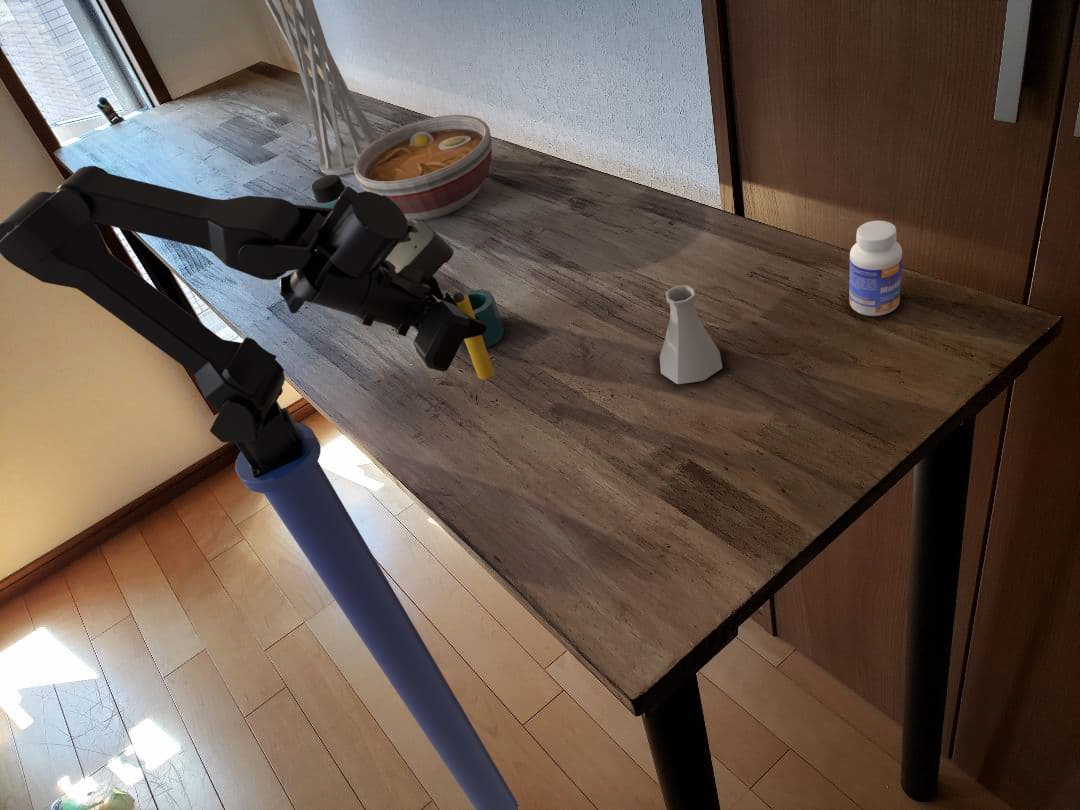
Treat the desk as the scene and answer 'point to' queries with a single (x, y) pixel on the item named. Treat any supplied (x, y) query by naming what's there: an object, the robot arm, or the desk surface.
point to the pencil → (475, 342)
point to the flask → (687, 341)
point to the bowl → (428, 165)
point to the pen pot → (486, 315)
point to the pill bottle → (875, 269)
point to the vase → (323, 87)
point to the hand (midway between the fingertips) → (481, 325)
